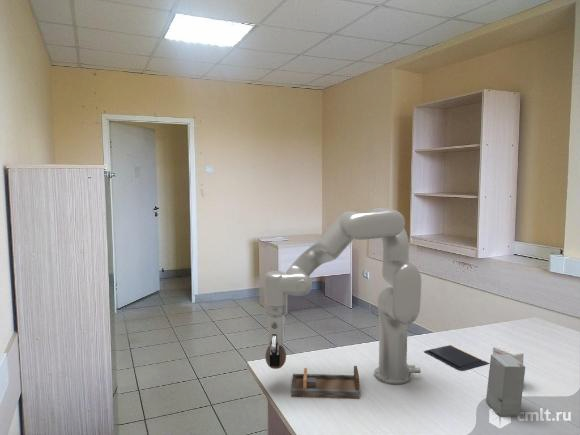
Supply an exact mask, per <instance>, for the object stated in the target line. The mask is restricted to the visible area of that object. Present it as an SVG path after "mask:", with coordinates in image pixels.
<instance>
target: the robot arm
mask: <svg viewBox="0 0 580 435" xmlns="http://www.w3.org/2000/svg"><path fill="white" fill-rule="evenodd" d="M405 226H406V220H405V216H404V214H402V213H401V212H399V211H398V210H396V209H391V208H386V207H376V208H373V209H372V210H371V211H370V212H357V211H352V210H348V211H345V212H343V213H342V214H340V216H339V217H337V219H336V220H335V221H334V222H333V223H332V225H331V226H330V227H329V228H328V229H327V230H326V231H325V232H324V233H323V235H322V236H321V237H320V238H319V239H318V240H317V241H316V242H315V243H314V244H312V245H311V246H310V247H309V248H307V249H306V250H305V251H303V252H302V253H301V254H300V255H299V256H298V257H297V258H296V259H295V260H294V262H293V263H292V264H291V265H290V266H289V268H287V270H286V272H284V271H281V270H271V271H268V272H266V273H265V275H264V315H265V316H267V341H268V342H267V343H268V347H269V346H271V347H270V366H280V354H279V346H283V347H284V344H285V339H286V323H285V322H286V318H285V316H287V315H288V295H290V296H296V297H297V296H298V297H299V296H306V295H307V294H309V293H310V292H311V291H312V288H313V280H312V279H311V277H310V276H311V275H312V274H313V273H314V271H315V270H317V268H319V267H321V266H322V265H323V264H325V263H329V262H332V261H334V260H336V259H338V258H339V256H340V255H341V254H342V253H343V252H344V251H345V249H347V247H348V246H349V245H350V244H351V243H352V242H353V241H354V240H359V241H360V240H375V239H381V242H382V248H383V250H382V251H383V252H382V267H381V268H382V270H381V273H382V278H383V279H384V281H385V282H387V284H389V285H391V286H392V287H391V286H390V287H389V286H388V287H385V288H384V289H382V290H381V291H380V293H379V295H378V297H377V312H378V318H379V319H378V320H379V323H378V324H379V327H378V328H379V329H378V330H379V332H378V333H379V334H378V345H379V346H378V367H376V368H375V369H374V372H373V374H374V377H375V378H376V379H377V380H378V381H380V382H382V383H386V384H391V385H403V384H407V383H408V382H410V380H411V379H412V374H421V372H422V371H421V370H422V369H421V367H416V365H415V364H414V365H413V364H411V365H409V364H408V362H407V361H408V325H411V324H412V323H414V322H415V321H416V320H417V318H418V316H419V315H420V310H421V299H422V298H421V297H422V276H421V273H420V270H419V269H418V267H417V266H416V265H414V264H413V263H411V262H410V259H409V258H410V257H409V256H410V255H409V254H410V253H409V250H410V248H409V236H408V233H407V230H406V229H405ZM276 343H278V345H276ZM276 347H277V349H276Z"/></svg>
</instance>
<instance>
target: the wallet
mask: <svg viewBox="0 0 580 435" xmlns="http://www.w3.org/2000/svg"><path fill="white" fill-rule="evenodd" d="M423 353H425V354H427V355H429V356H430V357H432V358H434V359H436V360H438V361H440V362H442V363H444V364H445V365H447V366H450V367H451V368H454V370H457V371H458V372H465V371H470V370H473V369H477V368H480V367H484V366H486V365H487V366H488V365H490V362H488V361H485V360H483V359H482V358H479V357H477V356H475V355H473V354H471V353H468V352H467V351H465V350H462V349H460V348H458V347H455V346H453V345H450V344H448V345H444V346H439V347H436V348H431V349H427V350H424V351H423Z"/></svg>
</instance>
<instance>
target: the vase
mask: <svg viewBox="0 0 580 435" xmlns="http://www.w3.org/2000/svg"><path fill="white" fill-rule="evenodd" d="M276 345H278V343H276ZM270 347H271V346H269V345H268V347H267V348H266V351H265V355H264V356H265V363H266V365H267V366H268V367H269V368H270V369H274V370H278V369H281V368H282V367H283V366H284V365H285V363H286V360H287V351H286V350H285V347H284V345H283V346H279V354H280V366H270ZM276 349H277V347H276Z"/></svg>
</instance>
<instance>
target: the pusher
mask: <svg viewBox="0 0 580 435" xmlns="http://www.w3.org/2000/svg"><path fill="white" fill-rule="evenodd" d="M303 374H304V377H303V389H307V386H309V387H316V378H307V374H308V368H307V367H304V368H303Z"/></svg>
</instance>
